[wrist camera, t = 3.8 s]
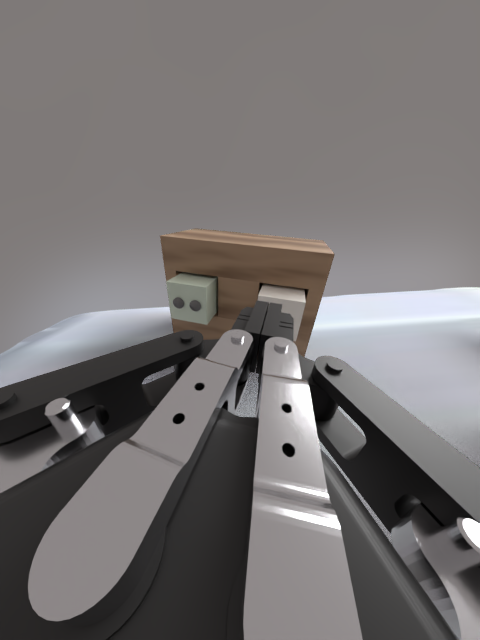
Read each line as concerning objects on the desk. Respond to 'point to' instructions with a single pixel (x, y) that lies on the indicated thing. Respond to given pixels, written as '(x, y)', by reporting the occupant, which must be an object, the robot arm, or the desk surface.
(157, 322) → the desk surface
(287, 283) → the brown piece
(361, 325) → the desk surface
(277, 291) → the key one
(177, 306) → the key two
